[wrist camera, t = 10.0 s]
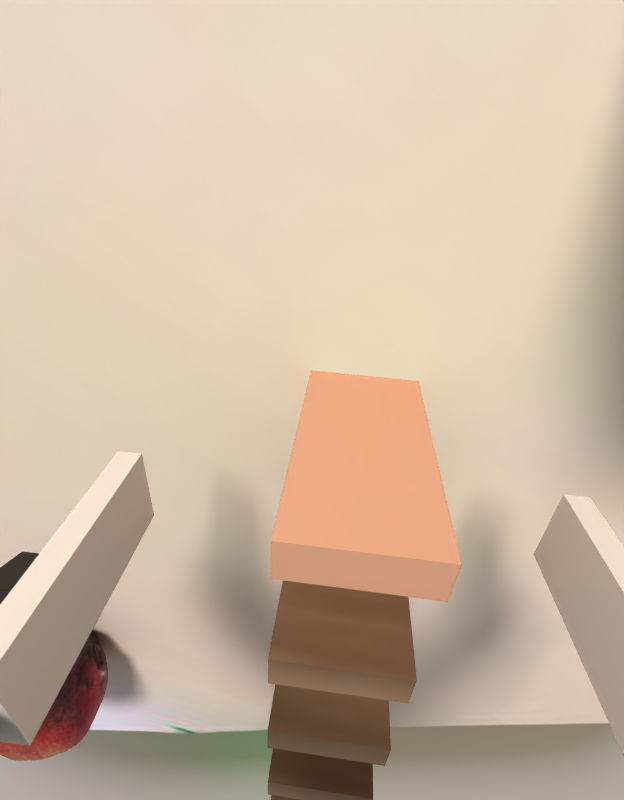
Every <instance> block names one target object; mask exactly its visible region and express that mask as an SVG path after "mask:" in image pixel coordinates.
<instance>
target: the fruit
mask: <svg viewBox="0 0 624 800" xmlns="http://www.w3.org/2000/svg"><path fill="white" fill-rule="evenodd" d="M107 680H108V668H107V663H106V657H105V653H104V651H103V648H102V646H101V644H100V643H99V642H98V641H97V640H96V639H95V638H94V636H93V634H91V633H90V635H89V637H88V639H87V641H86V643H85V644H84V646H83V648H82V650H81V652H80V654H79V656H78V657H77V659H76V661H75V663H74V665H73V667H72V669H71V671H70V672H69V674H68V676H67V678H66V680H65V682H64V684H63V685H62V687H61V689H60V691H59V693H58V695H57V697H56V698H55V700H54V702H53V704H52V706H51V708H50V710H49V711H48V713H47V715H46V717H45V719H44V721H43V723H42V724H41V726H40V728H39V730H38V732H37V734H36V736H35V738H34V739H33V741H32V743H31V745H30V746H29V745H21V744H13V743H5V742H0V755H2V756H4V757H7V758H9V759H12V760H40V759H44V758H50V757H52V756H54V755H56V754H59V753H62V752H65V751H67V750H68V749H70V748H72V747H73V746H75V745H77V743H79V742H80V741H81V740H82V738H83V737H84V736H85V735H86V733H87V732H88V731H89V728H90V726H91V724H92V722H93V720H94V718H95V716H96V713H97V711H98V709H99V707H100V704H101V702H102V700H103V697H104V694H105V690H106V686H107Z"/></svg>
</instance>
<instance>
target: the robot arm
mask: <svg viewBox="0 0 624 800" xmlns="http://www.w3.org/2000/svg"><path fill="white" fill-rule="evenodd" d="M153 516H154V513H153V508H152V503H151V498H150V493H149V488H148V483H147V478H146V473H145V468H144V463H143V458H142V454H141V453H131V452H121V451H118V452H117V453H116V455H115V456H114V457H113V459H112V460H111V461H110V462H109V464H108V465H107V466H106V468H105V469H104V470H103V472H102V473H101V474H100V475H99V477H98V478H97V479H96V481H95V482H94V483H93V485H92V486H91V487H90V488H89V490H88V491H87V492H86V494H85V495H84V496H83V498H82V499H81V500H80V501H79V503H78V504H77V505H76V507H75V508H74V509H73V511H72V512H71V513H70V515H69V516H68V517H67V518H66V520H65V521H64V522H63V524H62V525H61V526H60V528H59V529H58V530H57V531H56V533H55V534H54V535H53V537H52V538H51V539H50V541H49V542H48V543H47V544H46V546H45V547H44V548H43V550H42V551H41V552H40V554H38V553H29V552H21V553H20V554H18V555H17V556H16V557H14V558H13V559H12V560H10V561H9V562H8V563H6V564H5V565H3V566H2V567H1V568H0V742H5V743H13V744H21V745H29V746H30V745H31V743H32V741H33V739H34V738H35V736H36V734H37V732H38V730H39V728H40V726H41V724H42V723H43V721H44V719H45V717H46V715H47V713H48V711H49V710H50V708H51V706H52V704H53V702H54V700H55V698H56V697H57V695H58V693H59V691H60V689H61V687H62V685H63V684H64V682H65V680H66V678H67V676H68V674H69V672H70V671H71V669H72V667H73V665H74V663H75V661H76V659H77V657H78V656H79V654H80V652H81V650H82V648H83V646H84V644H85V643H86V641H87V639H88V637H89V635H90V633H91V631H92V630H93V628H94V626H95V624H96V622H97V620H98V618H99V617H100V615H101V613H102V611H103V609H104V607H105V605H106V603H107V602H108V600H109V598H110V596H111V594H112V592H113V590H114V589H115V587H116V585H117V583H118V581H119V579H120V577H121V576H122V574H123V572H124V570H125V568H126V566H127V564H128V563H129V561H130V559H131V557H132V555H133V553H134V551H135V550H136V548H137V546H138V544H139V542H140V540H141V538H142V536H143V535H144V533H145V531H146V529H147V527H148V525H149V523H150V522H151V520H152V518H153ZM534 556H535V558H536V560H537V563H538V565H539V567H540V569H541V571H542V574H543V576H544V578H545V580H546V583H547V585H548V587H549V589H550V592H551V594H552V596H553V598H554V601H555V603H556V605H557V607H558V609H559V612H560V614H561V616H562V618H563V621H564V623H565V625H566V627H567V630H568V632H569V634H570V636H571V639H572V641H573V643H574V645H575V648H576V650H577V652H578V654H579V656H580V659H581V661H582V663H583V665H584V668H585V670H586V672H587V674H588V677H589V679H590V681H591V683H592V686H593V688H594V690H595V692H596V694H597V697H598V699H599V701H600V703H601V706H602V708H603V710H604V712H605V715H606V717H607V719H608V721H609V724H610V726H611V728H612V730H613V732H614V735H615V737H616V739H617V741H618V744H619V746H620V748H621V750H622V753H623V755H624V547H623V545H622V544H621V542H620V541H619V540H618V538H617V537H616V535H615V534H614V532H613V531H612V529H611V528H610V526H609V525H608V523H607V522H606V520H605V519H604V517H603V516H602V515H601V513H600V512H599V510H598V509H597V507H596V506H595V504H594V503H593V501H592V500H591V498H590V497H586V496H576V495H566V494H564V495H563V497H562V499H561V501H560V503H559V505H558V507H557V509H556V511H555V513H554V515H553V517H552V519H551V521H550V523H549V525H548V527H547V529H546V531H545V533H544V535H543V537H542V539H541V541H540V543H539V545H538V547H537V549H536V551H535V553H534Z"/></svg>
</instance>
